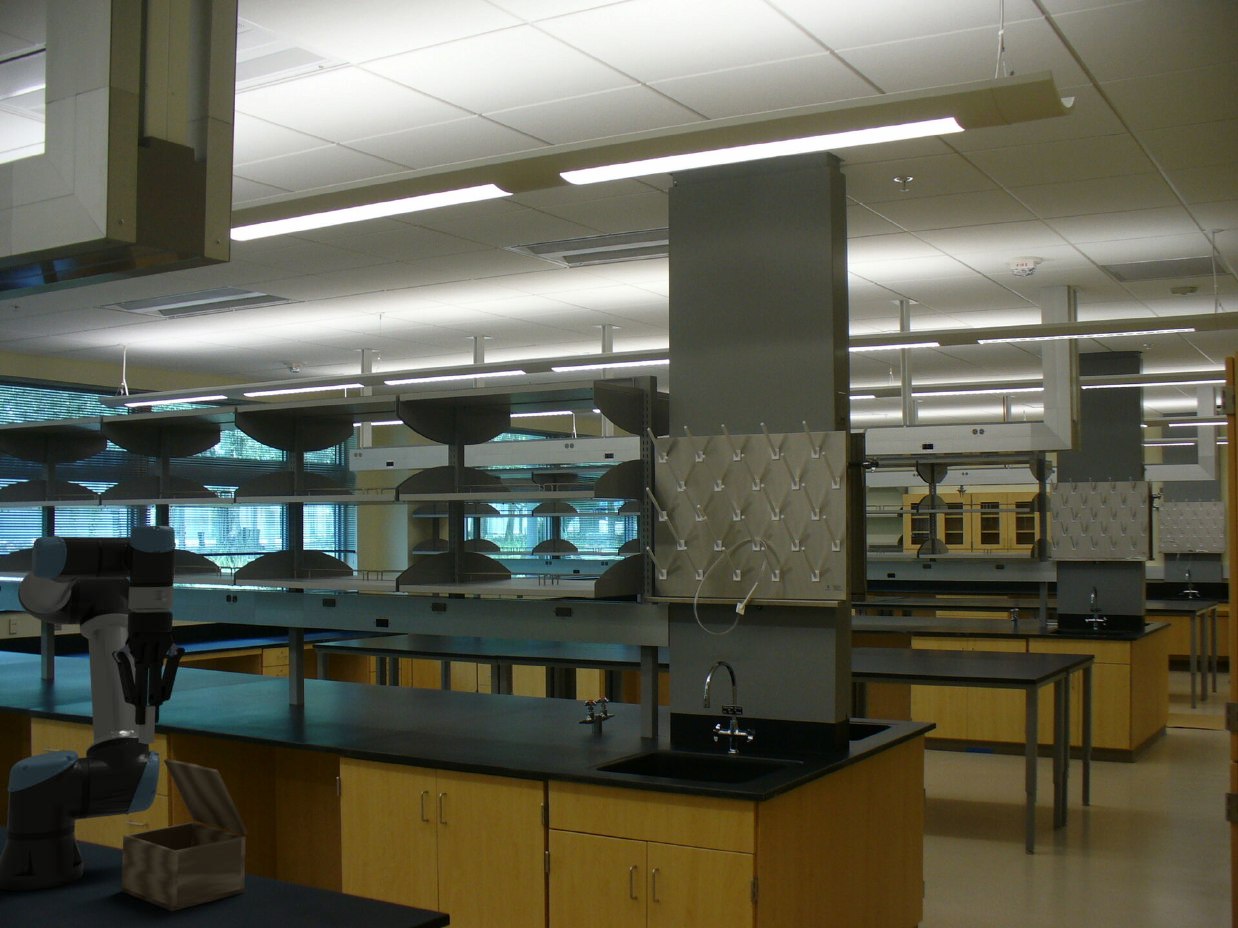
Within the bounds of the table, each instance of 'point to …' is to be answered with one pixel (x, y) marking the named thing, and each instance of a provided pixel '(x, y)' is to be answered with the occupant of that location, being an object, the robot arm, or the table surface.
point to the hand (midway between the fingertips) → (146, 742)
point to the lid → (206, 795)
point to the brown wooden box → (183, 865)
